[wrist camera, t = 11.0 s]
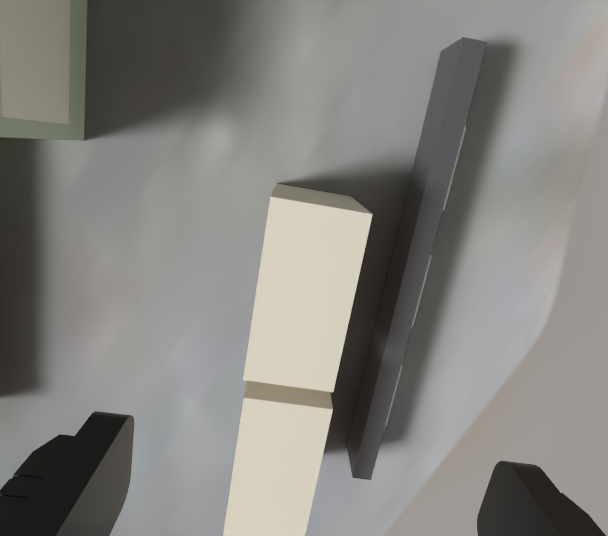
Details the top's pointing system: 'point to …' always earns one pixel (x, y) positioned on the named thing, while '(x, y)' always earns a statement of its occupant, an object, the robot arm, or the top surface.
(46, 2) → the sage tea tin
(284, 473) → the faced twin box
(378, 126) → the top surface
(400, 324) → the rail
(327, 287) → the box
